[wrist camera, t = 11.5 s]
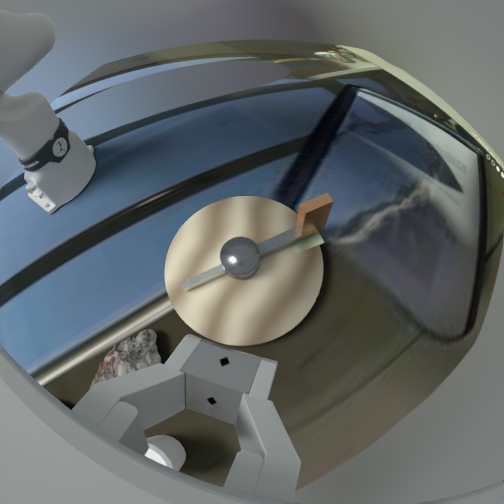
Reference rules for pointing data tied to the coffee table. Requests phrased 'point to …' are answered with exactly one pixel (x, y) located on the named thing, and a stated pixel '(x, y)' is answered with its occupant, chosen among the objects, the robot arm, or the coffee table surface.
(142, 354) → the mineral rock
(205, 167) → the coffee table surface
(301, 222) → the grey pivot bar
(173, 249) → the stand
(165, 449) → the white cylinder
